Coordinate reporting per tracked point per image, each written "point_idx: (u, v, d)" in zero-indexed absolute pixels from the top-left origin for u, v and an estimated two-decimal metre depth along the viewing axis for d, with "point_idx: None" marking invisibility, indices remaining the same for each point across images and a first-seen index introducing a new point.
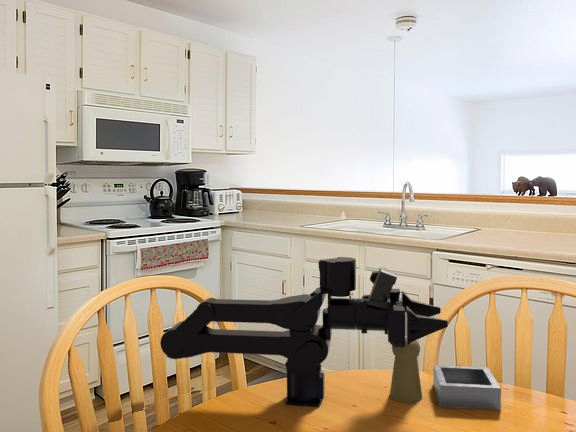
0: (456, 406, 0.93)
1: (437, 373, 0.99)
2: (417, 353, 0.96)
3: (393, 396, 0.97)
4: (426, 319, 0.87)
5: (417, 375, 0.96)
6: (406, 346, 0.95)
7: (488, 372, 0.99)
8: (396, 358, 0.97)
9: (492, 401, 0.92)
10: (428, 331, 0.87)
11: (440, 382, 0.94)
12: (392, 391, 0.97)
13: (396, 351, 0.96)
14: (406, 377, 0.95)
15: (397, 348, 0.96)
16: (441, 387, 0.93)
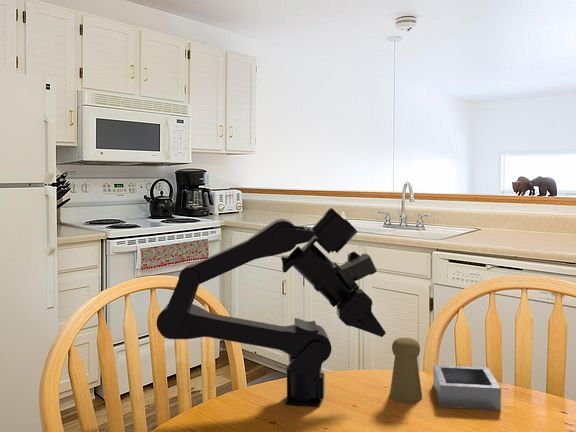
0: (456, 406, 0.93)
1: (437, 373, 0.99)
2: (417, 353, 0.96)
3: (393, 396, 0.97)
4: (375, 319, 0.91)
5: (417, 375, 0.96)
6: (406, 346, 0.95)
7: (488, 372, 0.99)
8: (396, 358, 0.97)
9: (492, 401, 0.92)
10: (368, 328, 0.91)
11: (440, 382, 0.94)
12: (392, 391, 0.97)
13: (396, 351, 0.96)
14: (406, 377, 0.95)
15: (397, 348, 0.96)
16: (441, 387, 0.93)
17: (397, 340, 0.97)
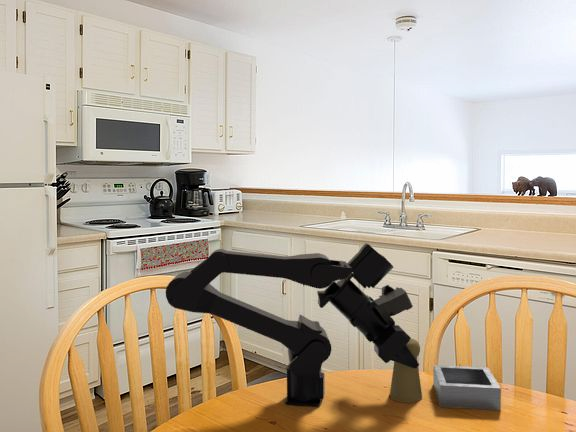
0: (456, 406, 0.93)
1: (437, 373, 0.99)
2: (417, 353, 0.96)
3: (393, 396, 0.97)
4: (409, 351, 0.94)
5: (417, 375, 0.96)
6: None
7: (488, 372, 0.99)
8: None
9: (492, 401, 0.92)
10: (402, 361, 0.94)
11: (440, 382, 0.94)
12: (392, 391, 0.97)
13: None
14: (406, 377, 0.95)
15: None
16: (441, 387, 0.93)
17: None
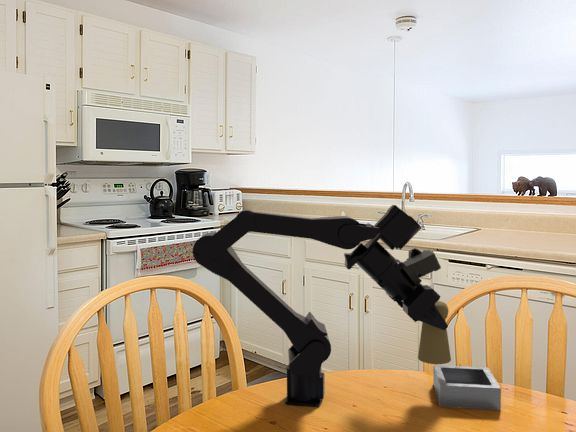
0: (456, 406, 0.93)
1: (437, 373, 0.99)
2: (446, 315, 0.95)
3: (421, 358, 0.96)
4: (438, 312, 0.93)
5: (446, 337, 0.95)
6: None
7: (488, 372, 0.99)
8: None
9: (492, 401, 0.92)
10: (431, 322, 0.93)
11: (440, 382, 0.94)
12: (421, 354, 0.96)
13: None
14: (435, 339, 0.95)
15: None
16: (441, 387, 0.93)
17: None
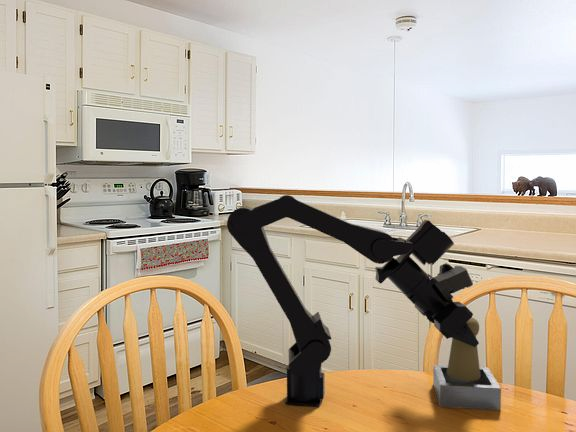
0: (456, 406, 0.93)
1: (437, 373, 0.99)
2: (477, 331, 0.95)
3: (451, 374, 0.96)
4: (469, 329, 0.93)
5: (476, 354, 0.95)
6: None
7: (488, 372, 0.99)
8: None
9: (492, 401, 0.92)
10: (462, 338, 0.93)
11: (440, 382, 0.94)
12: (450, 370, 0.96)
13: None
14: (465, 355, 0.94)
15: None
16: (441, 387, 0.93)
17: None
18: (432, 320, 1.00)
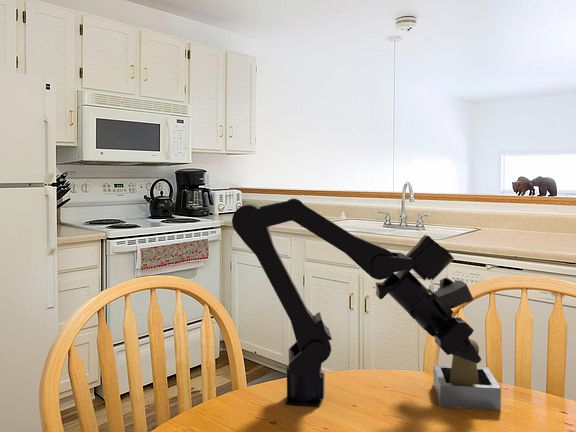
0: (456, 406, 0.93)
1: (437, 373, 0.99)
2: None
3: None
4: (471, 346, 0.92)
5: (476, 376, 0.95)
6: None
7: (488, 372, 0.99)
8: (454, 358, 0.96)
9: (492, 401, 0.92)
10: (464, 355, 0.92)
11: (440, 382, 0.94)
12: None
13: None
14: (465, 378, 0.95)
15: None
16: (441, 387, 0.93)
17: None
18: (432, 333, 1.01)
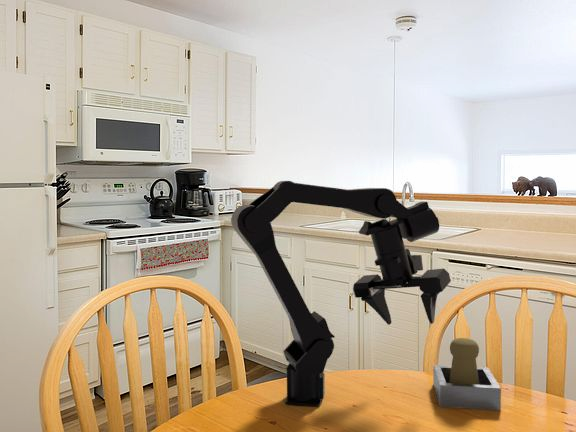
0: (456, 406, 0.93)
1: (437, 373, 0.99)
2: (476, 354, 0.95)
3: None
4: (435, 303, 0.99)
5: (476, 376, 0.95)
6: (465, 347, 0.95)
7: (488, 372, 0.99)
8: (454, 358, 0.96)
9: (492, 401, 0.92)
10: (431, 309, 0.98)
11: (440, 382, 0.94)
12: None
13: (455, 351, 0.95)
14: (465, 378, 0.95)
15: (456, 348, 0.95)
16: (441, 387, 0.93)
17: (455, 340, 0.97)
18: (373, 298, 1.03)
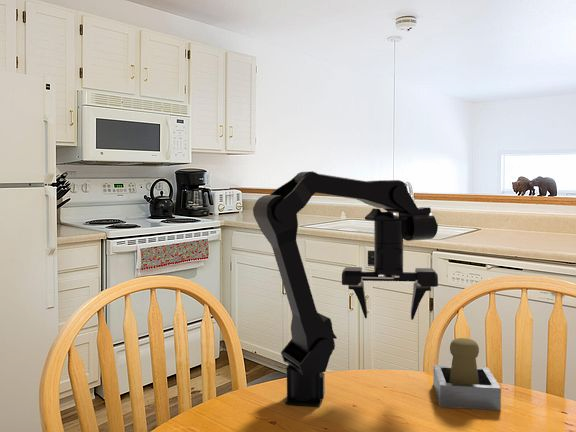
0: (456, 406, 0.93)
1: (437, 373, 0.99)
2: (476, 354, 0.95)
3: None
4: None
5: (476, 376, 0.95)
6: (465, 347, 0.95)
7: (488, 372, 0.99)
8: (454, 358, 0.96)
9: (492, 401, 0.92)
10: (418, 304, 1.02)
11: (440, 382, 0.94)
12: None
13: (455, 351, 0.95)
14: (465, 378, 0.95)
15: (456, 348, 0.95)
16: (441, 387, 0.93)
17: (455, 340, 0.97)
18: (362, 287, 1.03)
